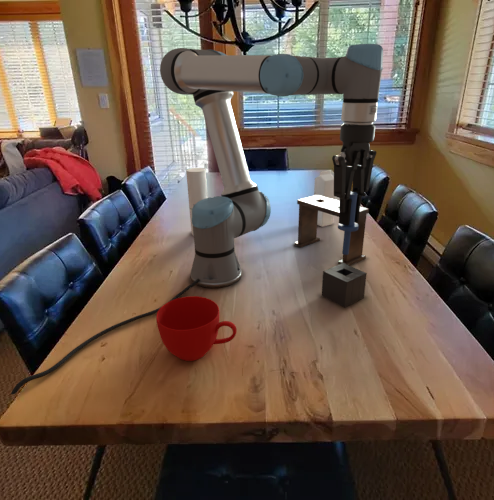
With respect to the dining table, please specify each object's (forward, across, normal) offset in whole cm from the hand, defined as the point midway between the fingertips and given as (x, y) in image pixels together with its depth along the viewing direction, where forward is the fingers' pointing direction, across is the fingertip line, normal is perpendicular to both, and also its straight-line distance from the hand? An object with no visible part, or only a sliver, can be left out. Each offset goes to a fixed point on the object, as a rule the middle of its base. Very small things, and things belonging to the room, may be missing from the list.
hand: (348, 222), depth 93 cm
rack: (+21, +20, +23) cm, 37 cm away
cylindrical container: (+22, -5, +67) cm, 70 cm away
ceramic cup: (+22, -42, +4) cm, 47 cm away
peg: (+2, 0, 0) cm, 2 cm away
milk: (+22, +40, +44) cm, 63 cm away
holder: (+21, 0, 0) cm, 21 cm away
